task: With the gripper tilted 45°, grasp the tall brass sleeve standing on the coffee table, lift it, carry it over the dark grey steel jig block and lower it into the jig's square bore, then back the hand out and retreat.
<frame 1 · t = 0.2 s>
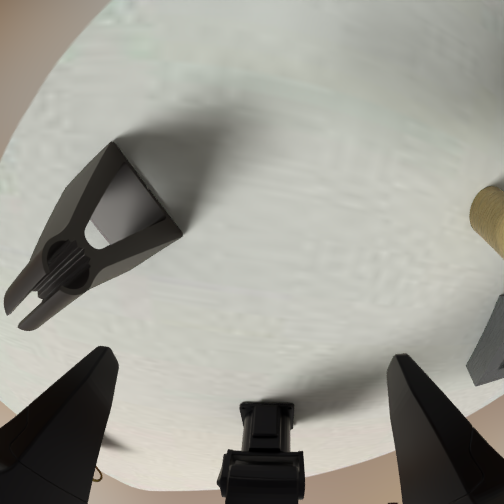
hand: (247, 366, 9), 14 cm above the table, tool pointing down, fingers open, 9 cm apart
phone stand: (122, 207, 22), on the table
brass sleeve: (488, 210, 20), on the table
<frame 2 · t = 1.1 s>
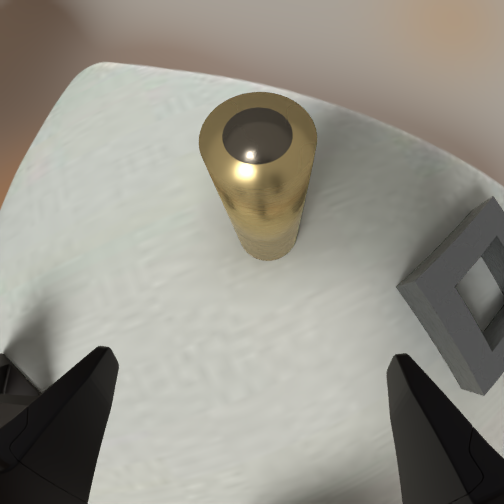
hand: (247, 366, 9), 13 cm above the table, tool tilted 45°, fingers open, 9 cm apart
jig block: (473, 296, 21), on the table
phone stand: (22, 400, 22), on the table
brass sleeve: (267, 232, 23), on the table
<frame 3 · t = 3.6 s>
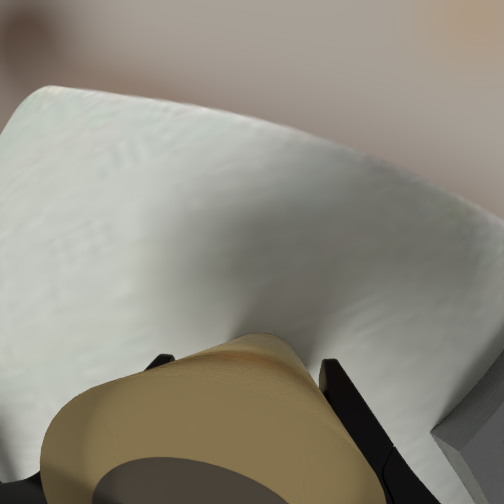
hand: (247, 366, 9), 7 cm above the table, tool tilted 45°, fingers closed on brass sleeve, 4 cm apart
brass sleeve: (258, 374, 15), on the table, touching gripper
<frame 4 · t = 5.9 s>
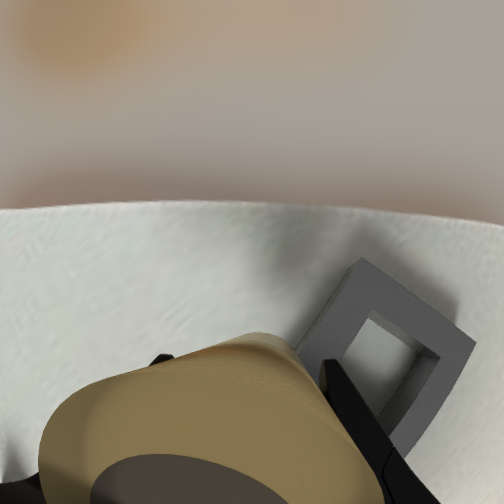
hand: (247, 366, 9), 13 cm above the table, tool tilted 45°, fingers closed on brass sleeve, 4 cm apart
jig block: (368, 369, 21), on the table
brass sleeve: (258, 374, 15), point 7 cm above the table, touching gripper
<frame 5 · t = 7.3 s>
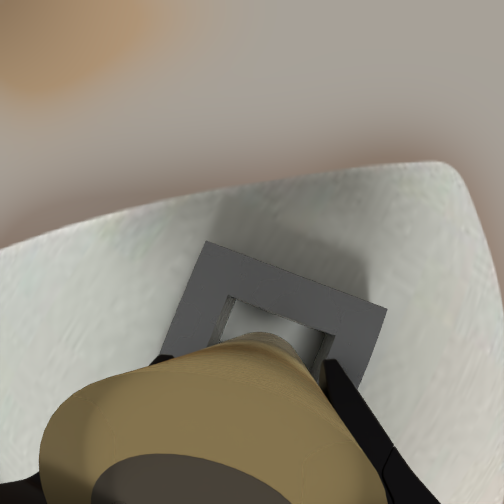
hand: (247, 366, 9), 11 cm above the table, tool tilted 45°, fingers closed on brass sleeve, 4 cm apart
jig block: (262, 361, 19), on the table
brass sleeve: (258, 374, 15), point 5 cm above the table, touching gripper
when the fingers open (8 cm above the table, at t = 8.4 s): brass sleeve drops 1 cm, resting in jig block.
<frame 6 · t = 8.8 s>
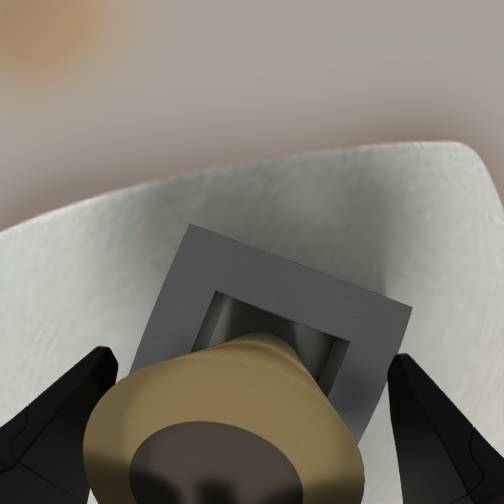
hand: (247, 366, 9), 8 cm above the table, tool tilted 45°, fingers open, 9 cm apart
jig block: (259, 371, 16), on the table
brass sleeve: (259, 371, 16), resting in jig block
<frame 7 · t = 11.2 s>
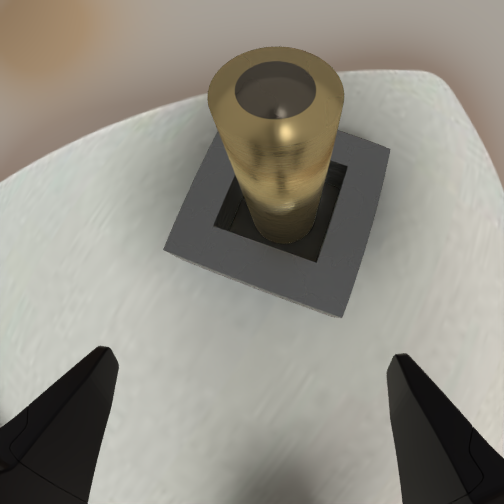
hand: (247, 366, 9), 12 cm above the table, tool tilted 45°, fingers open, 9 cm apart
jig block: (283, 212, 21), on the table
brass sleeve: (283, 213, 21), resting in jig block
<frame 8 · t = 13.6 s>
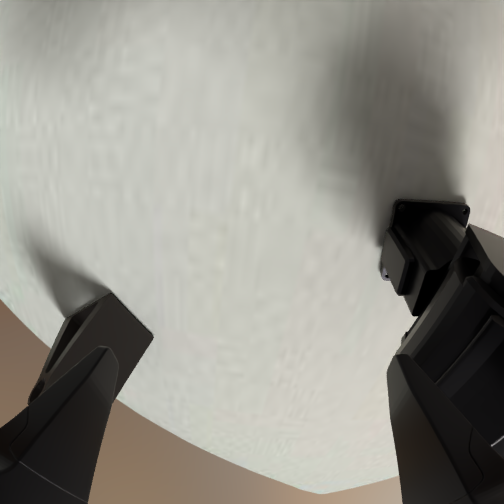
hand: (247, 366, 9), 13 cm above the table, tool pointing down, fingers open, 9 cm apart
phone stand: (107, 325, 28), on the table
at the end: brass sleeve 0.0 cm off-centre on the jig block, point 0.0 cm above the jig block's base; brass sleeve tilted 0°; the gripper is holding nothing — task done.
